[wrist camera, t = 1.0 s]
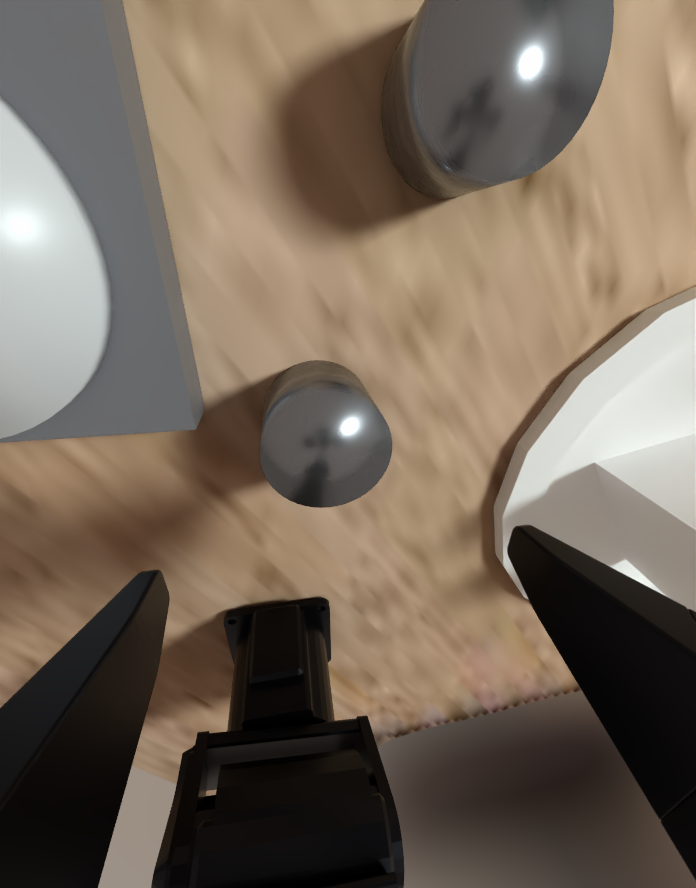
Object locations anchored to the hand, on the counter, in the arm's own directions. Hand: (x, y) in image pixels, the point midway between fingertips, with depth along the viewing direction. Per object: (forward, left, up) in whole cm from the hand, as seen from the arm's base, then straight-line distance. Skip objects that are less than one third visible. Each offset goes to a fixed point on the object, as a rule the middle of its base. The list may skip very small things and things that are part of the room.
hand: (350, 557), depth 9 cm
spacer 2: (+11, -5, -9) cm, 15 cm away
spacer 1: (0, 0, -9) cm, 9 cm away
